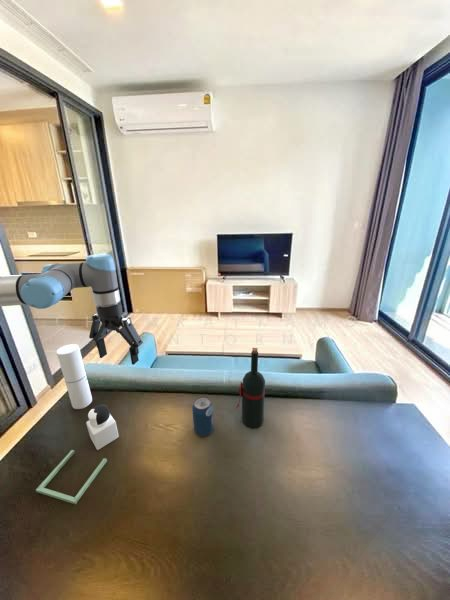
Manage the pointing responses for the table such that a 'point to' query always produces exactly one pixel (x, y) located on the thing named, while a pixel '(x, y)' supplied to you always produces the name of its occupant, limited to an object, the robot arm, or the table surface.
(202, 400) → the soda can
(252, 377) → the wine bottle
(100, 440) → the medicine bottle
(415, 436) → the table surface
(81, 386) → the cylindrical container
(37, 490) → the frame
